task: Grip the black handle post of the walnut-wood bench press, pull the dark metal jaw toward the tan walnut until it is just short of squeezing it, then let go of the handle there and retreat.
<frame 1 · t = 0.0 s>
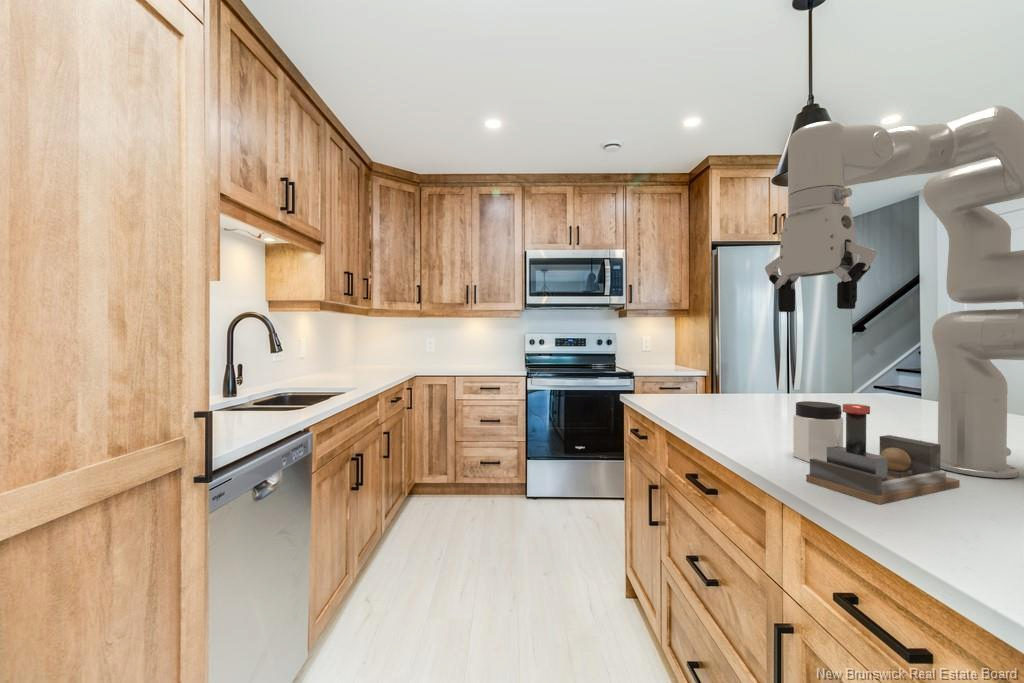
hand: (814, 310, 72), 31 cm above the countertop, tool pointing down, fingers open, 9 cm apart
press base: (881, 483, 80), on the countertop
jar: (817, 460, 96), on the countertop
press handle: (855, 443, 77), point 8 cm above the countertop, slide at 0.0 cm
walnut: (895, 459, 81), point 4 cm above the countertop, touching press base
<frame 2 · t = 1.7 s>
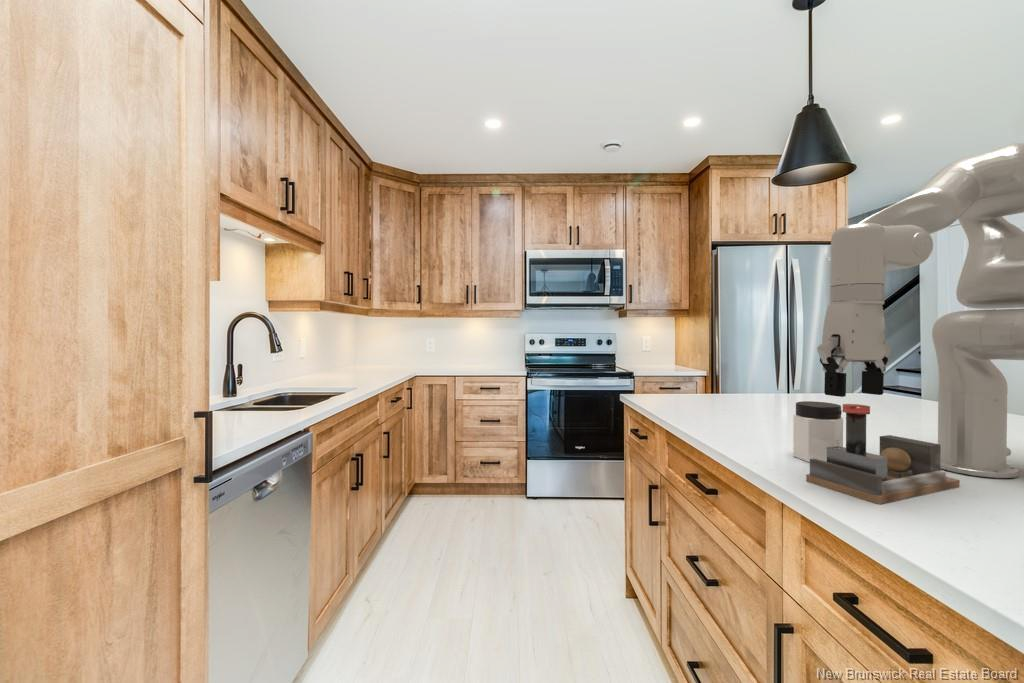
hand: (853, 394, 77), 17 cm above the countertop, tool pointing down, fingers open, 9 cm apart
nothing on the countertop moved.
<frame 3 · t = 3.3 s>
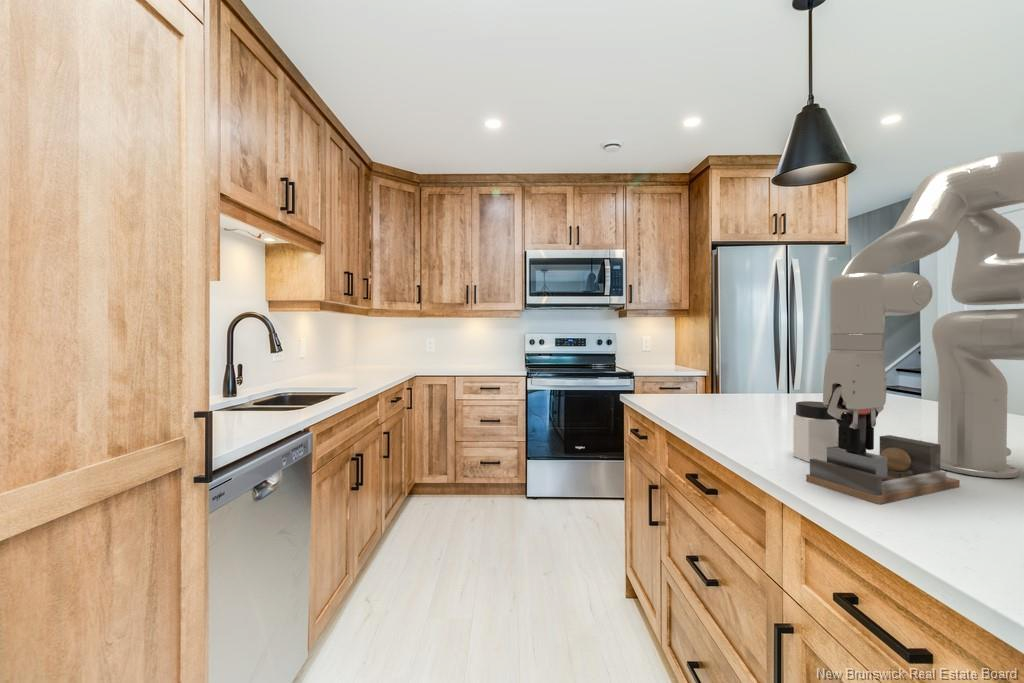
hand: (855, 448, 77), 7 cm above the countertop, tool pointing down, fingers closed on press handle, 2 cm apart
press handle: (855, 443, 77), point 8 cm above the countertop, slide at 0.0 cm, touching gripper
everything else where it was.
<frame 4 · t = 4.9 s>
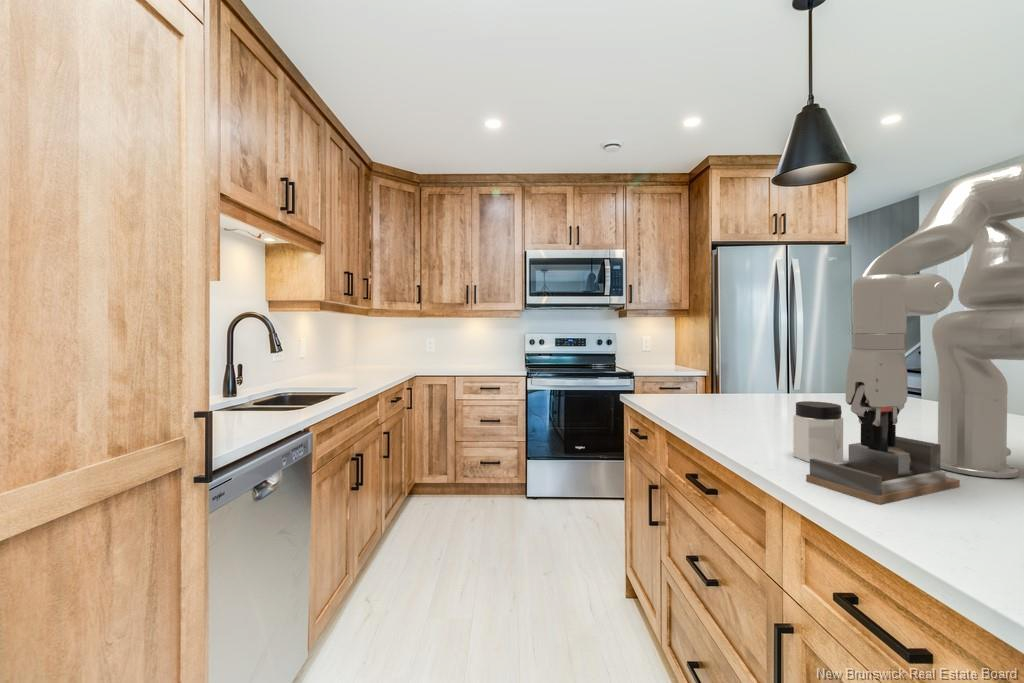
hand: (877, 444, 79), 7 cm above the countertop, tool pointing down, fingers closed on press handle, 2 cm apart
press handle: (877, 439, 79), point 8 cm above the countertop, slide at 6.0 cm, touching gripper
everything else where it was.
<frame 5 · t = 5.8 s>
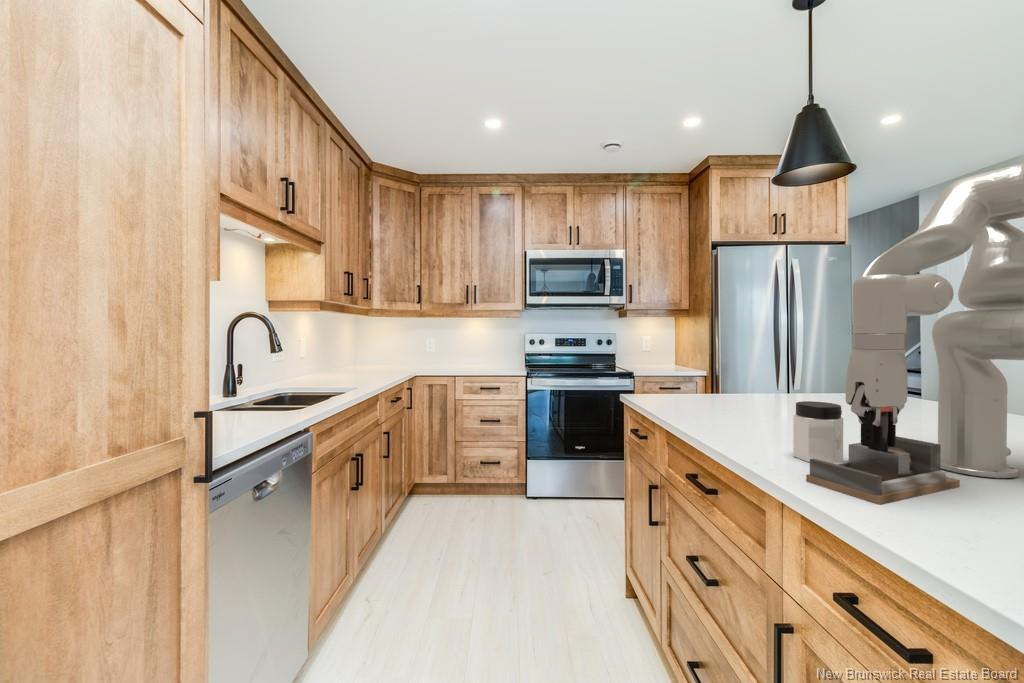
hand: (877, 444, 79), 7 cm above the countertop, tool pointing down, fingers closed on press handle, 2 cm apart
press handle: (877, 439, 79), point 8 cm above the countertop, slide at 6.0 cm, touching gripper
everything else where it was.
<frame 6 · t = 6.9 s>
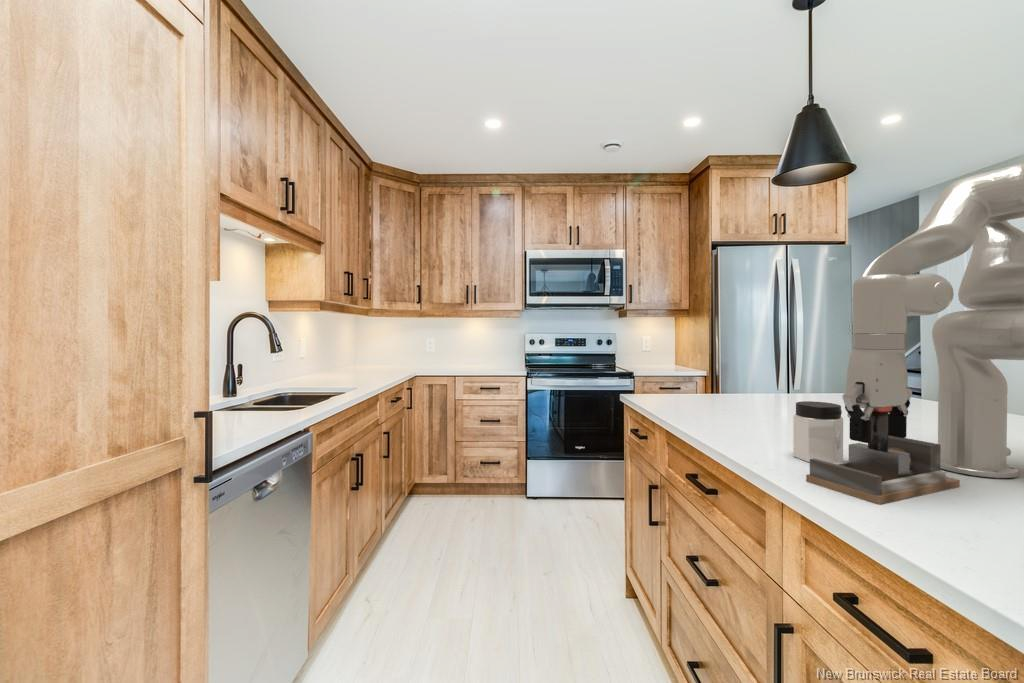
hand: (878, 438, 79), 8 cm above the countertop, tool pointing down, fingers open, 9 cm apart
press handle: (877, 439, 79), point 8 cm above the countertop, slide at 6.0 cm
everything else where it was.
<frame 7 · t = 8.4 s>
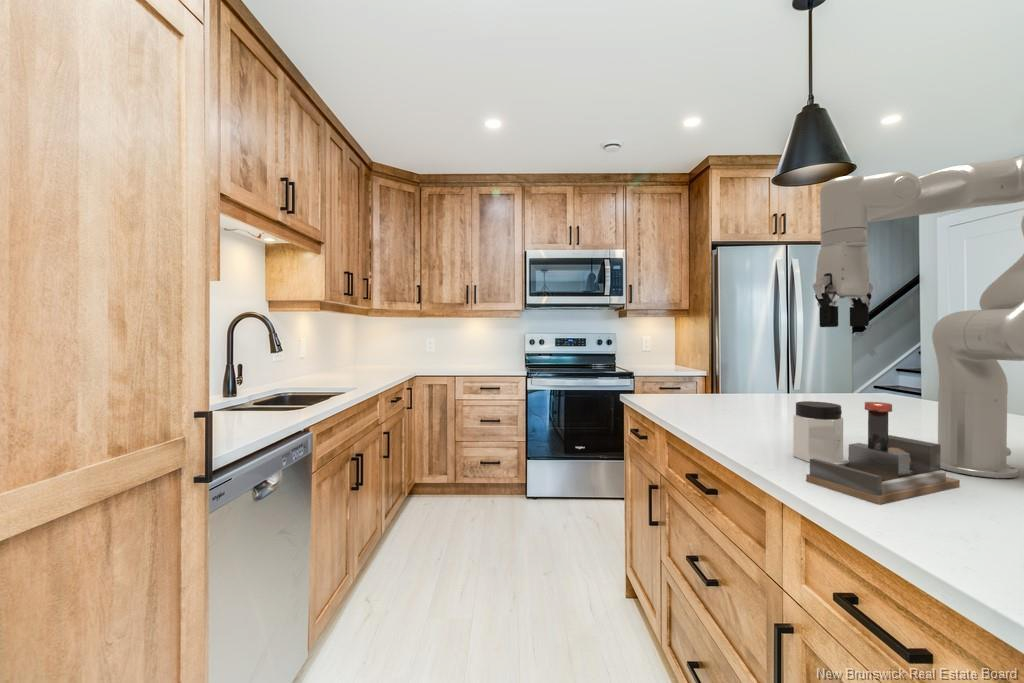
hand: (844, 326, 88), 29 cm above the countertop, tool pointing down, fingers open, 9 cm apart
nothing on the countertop moved.
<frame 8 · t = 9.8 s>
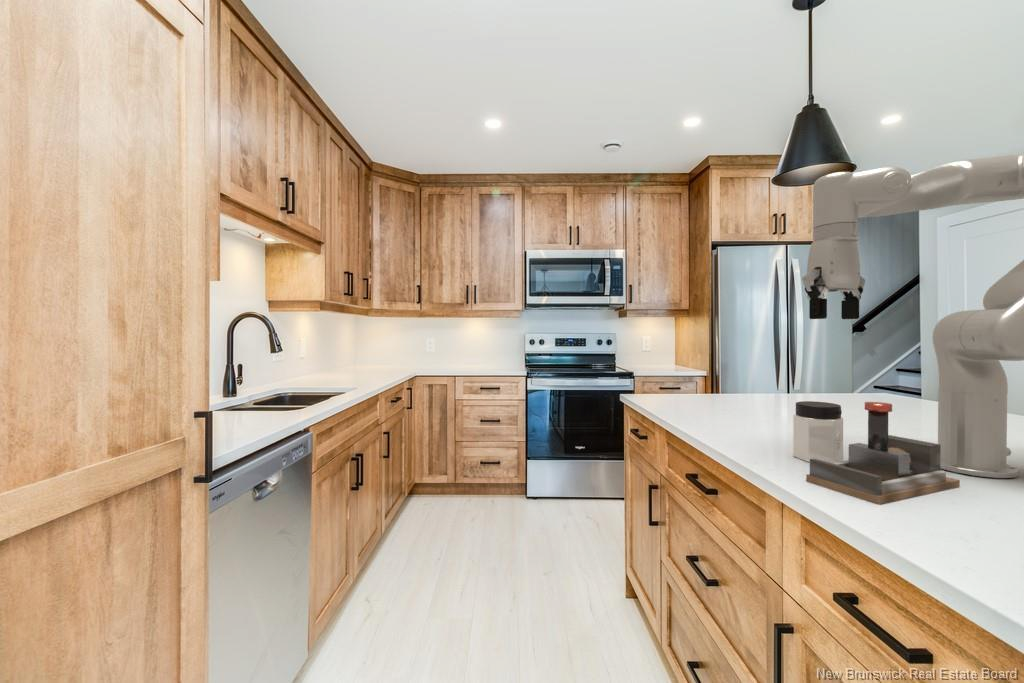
hand: (834, 318, 91), 30 cm above the countertop, tool pointing down, fingers open, 9 cm apart
nothing on the countertop moved.
at the end: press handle slide at 6.0 cm; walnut moved 0.0 cm from its start; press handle touching nothing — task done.
